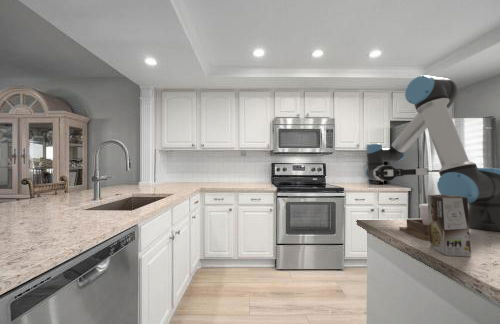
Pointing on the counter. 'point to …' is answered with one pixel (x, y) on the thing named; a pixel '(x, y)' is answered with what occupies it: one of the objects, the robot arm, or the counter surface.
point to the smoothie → (424, 213)
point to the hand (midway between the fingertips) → (409, 172)
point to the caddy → (417, 229)
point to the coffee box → (449, 224)
